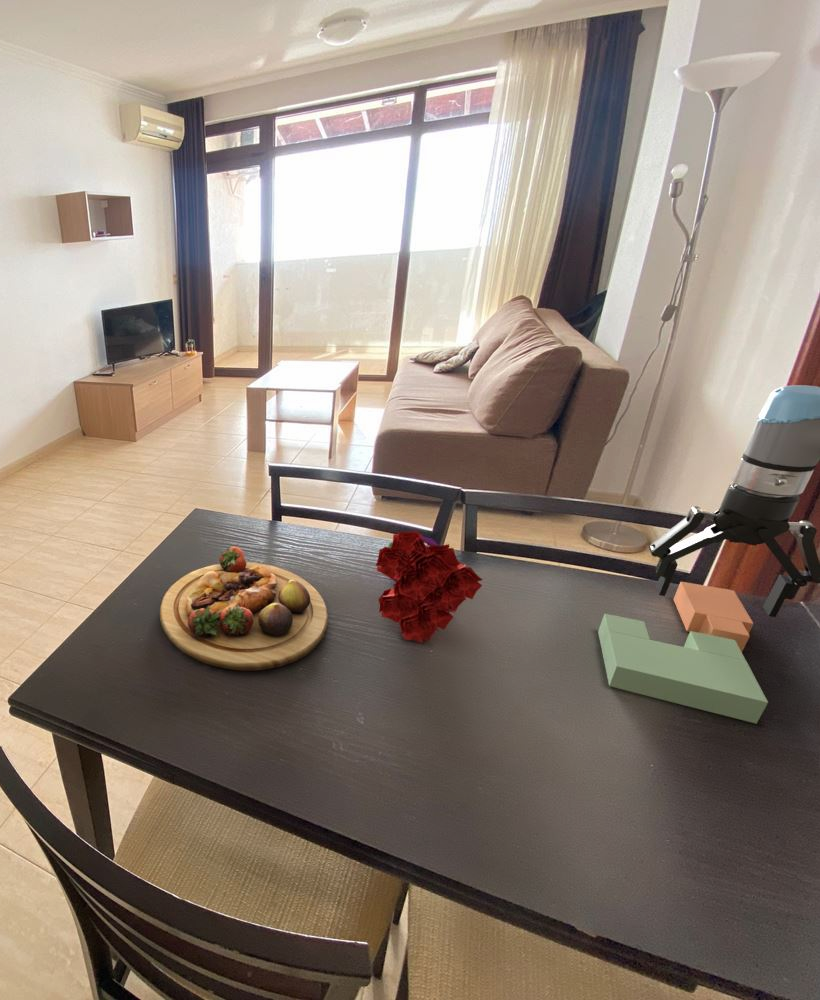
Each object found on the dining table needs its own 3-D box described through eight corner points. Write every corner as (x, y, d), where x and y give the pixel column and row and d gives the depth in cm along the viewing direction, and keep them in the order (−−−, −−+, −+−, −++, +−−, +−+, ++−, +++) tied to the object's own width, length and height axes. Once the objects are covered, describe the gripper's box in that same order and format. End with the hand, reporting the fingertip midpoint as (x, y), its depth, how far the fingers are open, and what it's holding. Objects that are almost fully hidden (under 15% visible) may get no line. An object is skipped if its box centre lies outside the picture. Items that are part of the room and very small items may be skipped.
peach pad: (725, 609, 95) (734, 590, 93) (752, 658, 84) (762, 638, 83) (673, 599, 99) (680, 581, 97) (692, 645, 88) (701, 626, 86)
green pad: (725, 660, 85) (735, 640, 83) (756, 723, 74) (768, 702, 72) (597, 632, 92) (604, 613, 91) (609, 686, 82) (616, 666, 80)
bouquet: (434, 584, 119) (477, 651, 90) (355, 579, 123) (372, 641, 94) (443, 498, 114) (490, 539, 86) (361, 495, 118) (380, 534, 90)
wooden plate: (180, 564, 123) (178, 533, 119) (326, 576, 114) (328, 542, 110) (140, 661, 95) (135, 623, 92) (328, 686, 86) (331, 646, 83)
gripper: (663, 485, 86) (622, 594, 95) (903, 513, 73) (829, 635, 83) (653, 468, 91) (616, 573, 100) (874, 491, 79) (809, 608, 88)
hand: (712, 601), depth 92 cm, fingers open, 13 cm apart
